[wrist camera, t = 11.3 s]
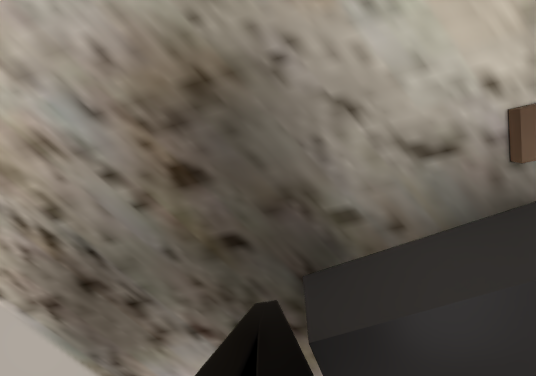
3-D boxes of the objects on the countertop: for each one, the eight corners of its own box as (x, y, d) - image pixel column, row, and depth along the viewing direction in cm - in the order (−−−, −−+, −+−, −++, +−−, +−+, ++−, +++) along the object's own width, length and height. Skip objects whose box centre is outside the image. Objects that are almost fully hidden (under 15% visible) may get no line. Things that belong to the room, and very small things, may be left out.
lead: (302, 275, 9) (308, 343, 7) (625, 171, 8) (822, 199, 5) (331, 343, 10) (348, 433, 7) (637, 258, 8) (820, 331, 6)
